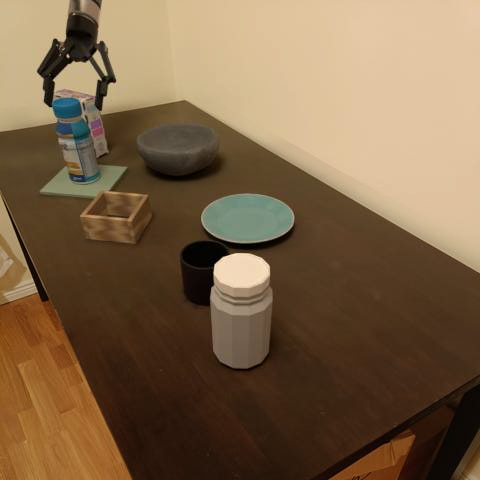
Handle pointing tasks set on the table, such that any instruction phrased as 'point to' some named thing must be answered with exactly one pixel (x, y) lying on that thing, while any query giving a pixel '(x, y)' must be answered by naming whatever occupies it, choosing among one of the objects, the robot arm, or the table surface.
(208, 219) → the plate
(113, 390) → the table surface
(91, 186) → the mat
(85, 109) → the candy box
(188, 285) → the mug
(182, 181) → the table surface
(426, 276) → the table surface
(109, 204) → the wooden box
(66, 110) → the beverage bottle
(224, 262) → the jar
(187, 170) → the bowl
